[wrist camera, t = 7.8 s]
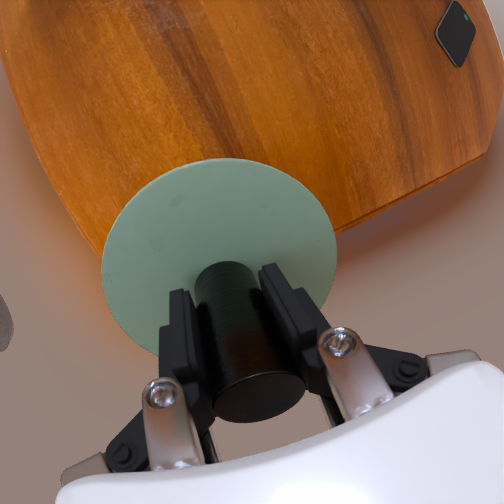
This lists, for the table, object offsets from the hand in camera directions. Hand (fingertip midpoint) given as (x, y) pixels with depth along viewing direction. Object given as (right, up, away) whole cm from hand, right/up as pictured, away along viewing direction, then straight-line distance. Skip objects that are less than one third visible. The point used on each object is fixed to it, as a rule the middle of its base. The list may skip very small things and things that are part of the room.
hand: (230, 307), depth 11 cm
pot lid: (0, +1, +2) cm, 2 cm away
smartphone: (+35, +39, +11) cm, 53 cm away
